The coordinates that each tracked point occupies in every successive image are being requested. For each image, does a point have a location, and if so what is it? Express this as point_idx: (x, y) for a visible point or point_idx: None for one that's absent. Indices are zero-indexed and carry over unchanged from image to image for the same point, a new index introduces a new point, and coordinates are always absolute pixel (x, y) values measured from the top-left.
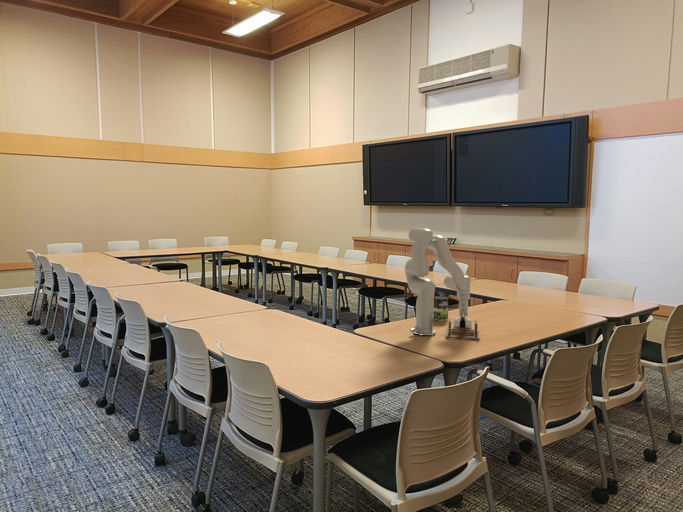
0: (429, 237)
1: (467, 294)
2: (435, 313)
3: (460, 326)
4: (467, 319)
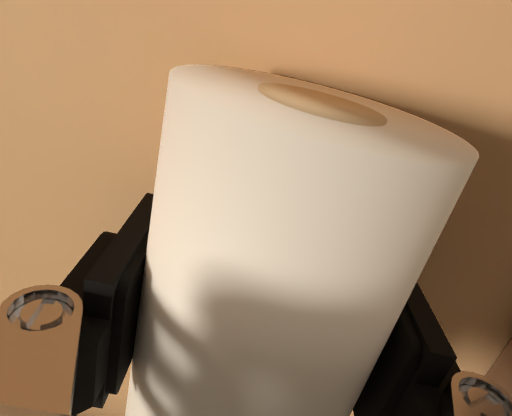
0: None
1: None
2: None
3: None
4: (357, 303)
